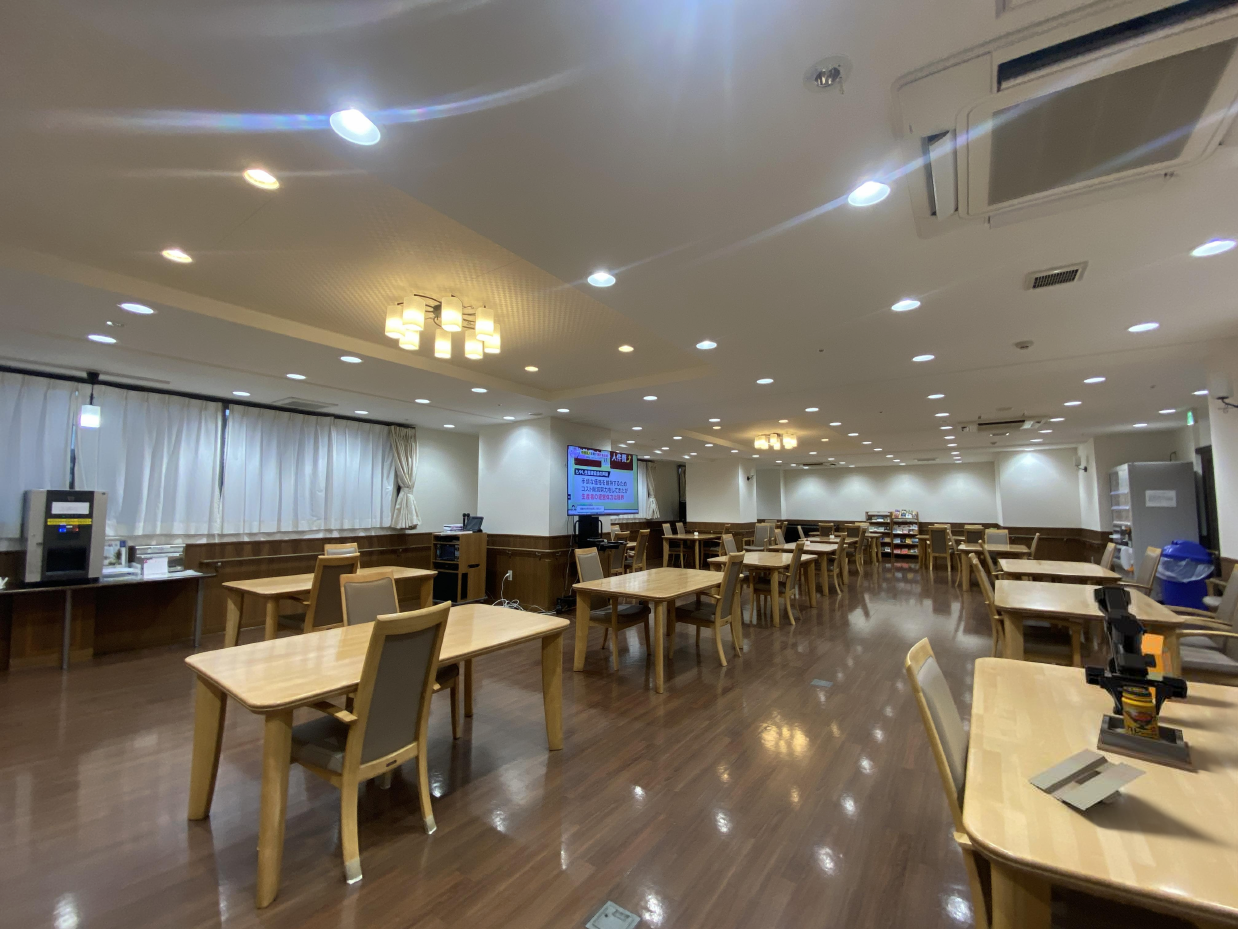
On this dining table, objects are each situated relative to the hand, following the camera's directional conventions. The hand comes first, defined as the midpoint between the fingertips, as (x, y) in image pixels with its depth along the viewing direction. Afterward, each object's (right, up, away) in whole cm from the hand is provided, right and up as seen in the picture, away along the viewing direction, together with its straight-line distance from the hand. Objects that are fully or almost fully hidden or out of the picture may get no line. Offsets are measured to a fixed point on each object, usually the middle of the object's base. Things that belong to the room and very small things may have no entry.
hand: (1139, 711), depth 126 cm
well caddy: (+1, -9, 0) cm, 9 cm away
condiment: (+1, -7, +1) cm, 7 cm away
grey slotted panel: (-36, -7, -24) cm, 44 cm away
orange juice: (+43, -13, +37) cm, 58 cm away
